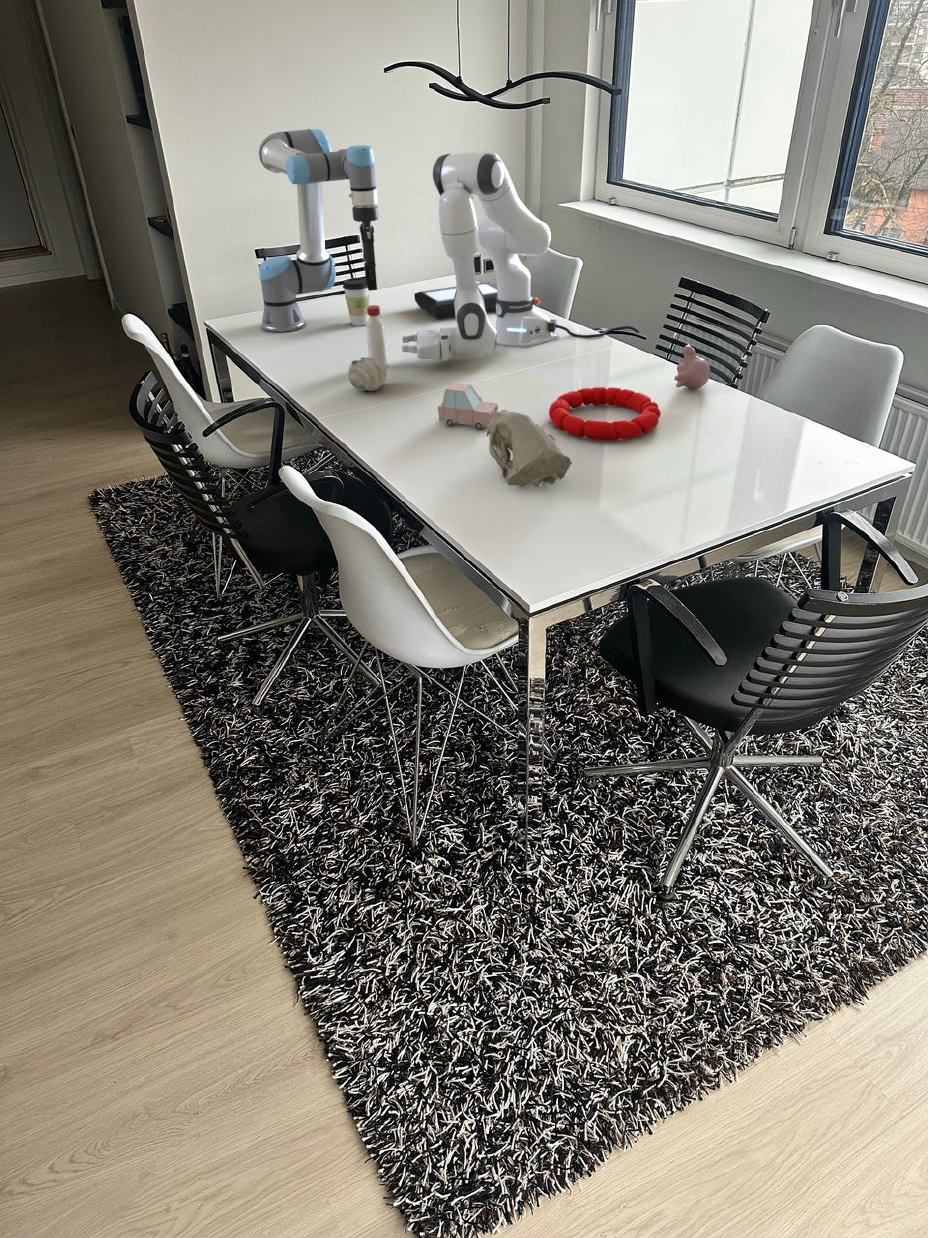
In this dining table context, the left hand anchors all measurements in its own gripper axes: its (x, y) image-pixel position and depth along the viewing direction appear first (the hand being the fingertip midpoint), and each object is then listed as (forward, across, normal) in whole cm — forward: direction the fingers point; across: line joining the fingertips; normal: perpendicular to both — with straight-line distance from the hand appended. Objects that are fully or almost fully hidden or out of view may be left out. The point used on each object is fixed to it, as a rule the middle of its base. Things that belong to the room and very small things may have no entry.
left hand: (371, 286), depth 274 cm
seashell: (+25, +22, -5) cm, 33 cm away
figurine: (+25, +45, +88) cm, 102 cm away
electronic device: (+25, -57, +38) cm, 73 cm away
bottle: (+25, 0, 0) cm, 25 cm away
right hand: (+18, +1, +8) cm, 20 cm away
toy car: (+25, +55, +20) cm, 63 cm away
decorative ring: (+25, +63, +56) cm, 88 cm away
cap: (+6, 0, 0) cm, 6 cm away
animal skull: (+25, +87, +27) cm, 95 cm away
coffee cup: (+25, -49, -2) cm, 55 cm away
